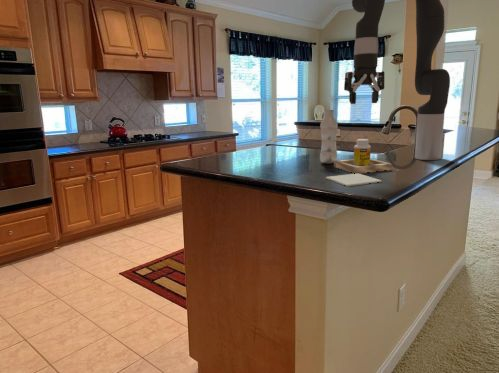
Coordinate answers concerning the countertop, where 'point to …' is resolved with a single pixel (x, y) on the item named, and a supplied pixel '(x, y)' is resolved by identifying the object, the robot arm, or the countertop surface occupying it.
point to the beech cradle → (373, 167)
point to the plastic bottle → (328, 138)
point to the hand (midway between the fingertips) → (363, 103)
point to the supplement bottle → (362, 153)
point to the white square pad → (353, 179)
